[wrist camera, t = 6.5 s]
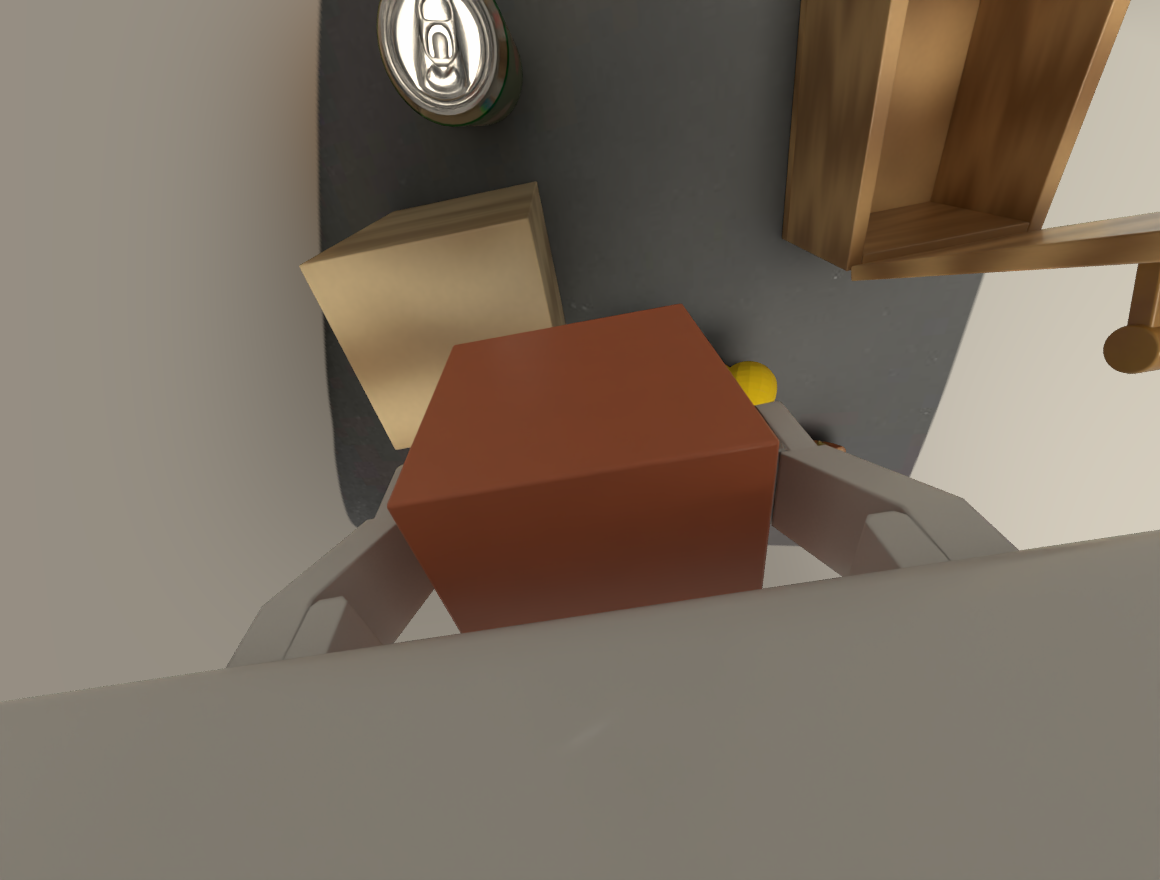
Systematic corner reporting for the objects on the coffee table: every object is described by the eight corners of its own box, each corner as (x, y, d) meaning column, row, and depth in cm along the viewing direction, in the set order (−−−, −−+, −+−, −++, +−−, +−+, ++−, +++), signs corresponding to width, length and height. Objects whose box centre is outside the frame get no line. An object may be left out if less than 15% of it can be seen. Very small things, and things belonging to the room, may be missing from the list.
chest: (802, -20, 25) (904, -78, 18) (1000, -66, 24) (1188, -145, 17) (781, 238, 33) (846, 271, 26) (930, 209, 32) (1040, 234, 25)
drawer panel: (1175, 229, 11) (1141, 402, 13) (1643, 139, 11) (1554, 332, 12) (850, 266, 25) (850, 348, 26) (1048, 227, 24) (1038, 314, 26)
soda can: (443, 124, 28) (384, 125, 18) (428, 12, 25) (349, -59, 15) (525, 126, 28) (511, 128, 18) (520, 16, 25) (502, -52, 15)
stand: (392, 211, 30) (297, 265, 19) (536, 181, 30) (528, 217, 18) (444, 347, 36) (395, 450, 25) (565, 323, 36) (573, 418, 24)
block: (452, 344, 10) (383, 506, 6) (682, 302, 9) (782, 440, 5) (511, 507, 13) (493, 691, 9) (688, 478, 12) (756, 654, 8)
